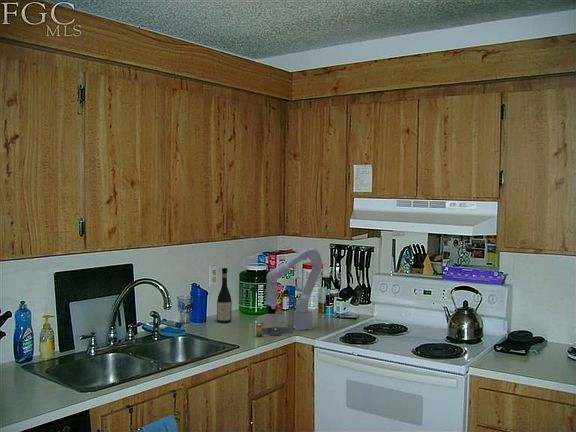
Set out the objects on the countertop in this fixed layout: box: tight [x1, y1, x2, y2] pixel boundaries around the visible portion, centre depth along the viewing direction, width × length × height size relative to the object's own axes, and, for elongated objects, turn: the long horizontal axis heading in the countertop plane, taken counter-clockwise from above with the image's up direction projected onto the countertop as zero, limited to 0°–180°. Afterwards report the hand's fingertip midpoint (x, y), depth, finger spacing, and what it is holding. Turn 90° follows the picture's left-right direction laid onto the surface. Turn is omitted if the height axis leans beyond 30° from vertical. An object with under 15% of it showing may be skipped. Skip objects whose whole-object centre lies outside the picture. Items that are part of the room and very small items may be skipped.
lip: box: [262, 326, 294, 337], centre depth 284 cm, size 19×6×3 cm, turn 100°
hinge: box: [256, 313, 288, 328], centre depth 292 cm, size 17×5×10 cm, turn 101°
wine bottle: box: [216, 267, 233, 324], centre depth 310 cm, size 8×8×30 cm
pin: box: [254, 322, 263, 338], centre depth 281 cm, size 4×4×6 cm
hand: (271, 319), depth 297 cm, fingers closed
